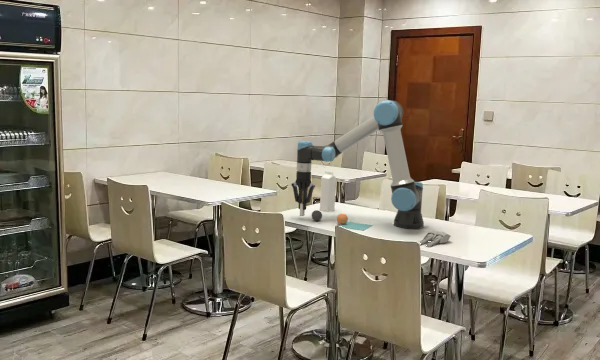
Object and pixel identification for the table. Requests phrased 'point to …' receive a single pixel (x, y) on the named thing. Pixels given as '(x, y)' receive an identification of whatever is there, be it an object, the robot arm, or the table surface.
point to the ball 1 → (316, 215)
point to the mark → (356, 225)
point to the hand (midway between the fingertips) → (302, 215)
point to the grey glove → (435, 238)
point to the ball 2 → (342, 218)
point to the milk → (327, 192)
